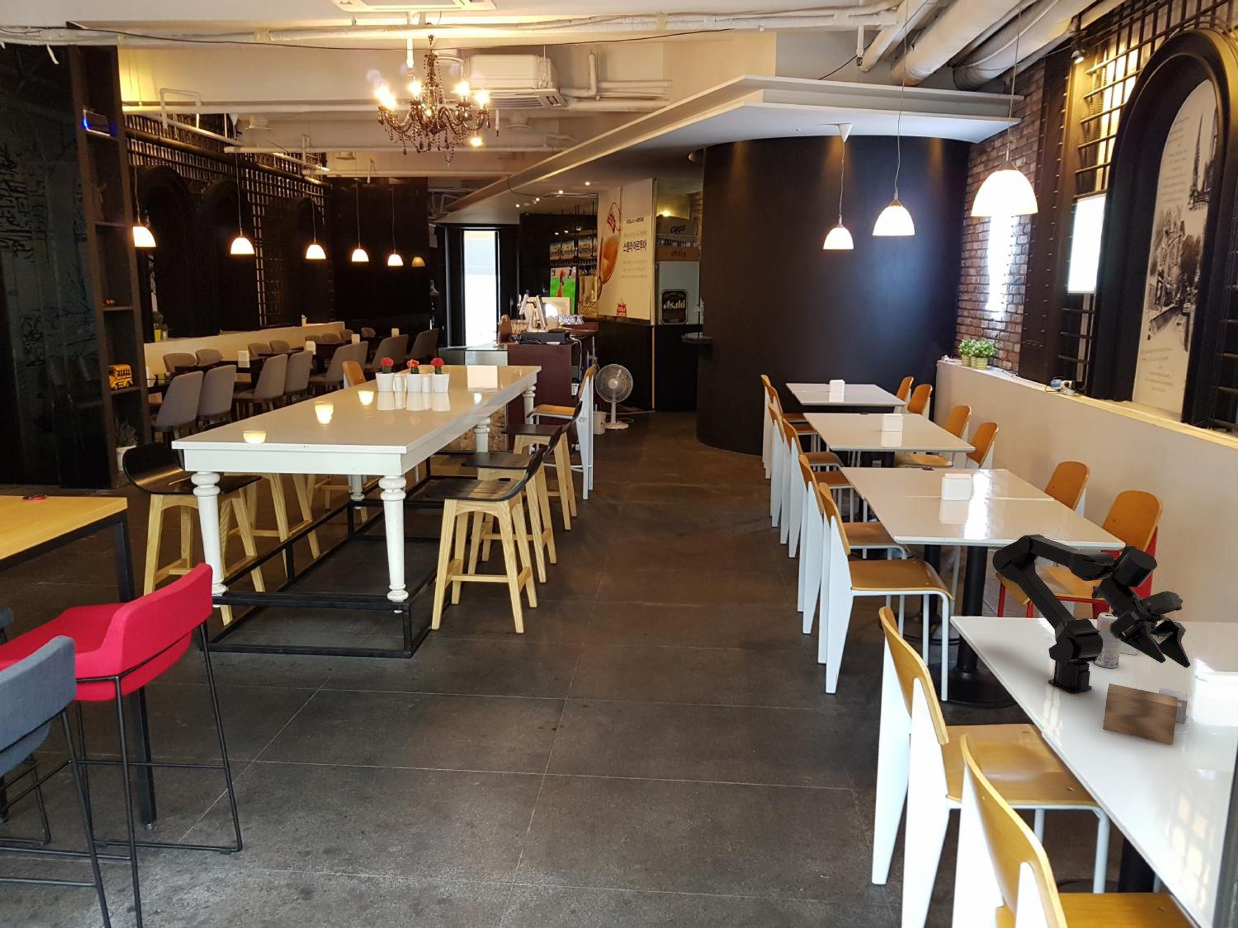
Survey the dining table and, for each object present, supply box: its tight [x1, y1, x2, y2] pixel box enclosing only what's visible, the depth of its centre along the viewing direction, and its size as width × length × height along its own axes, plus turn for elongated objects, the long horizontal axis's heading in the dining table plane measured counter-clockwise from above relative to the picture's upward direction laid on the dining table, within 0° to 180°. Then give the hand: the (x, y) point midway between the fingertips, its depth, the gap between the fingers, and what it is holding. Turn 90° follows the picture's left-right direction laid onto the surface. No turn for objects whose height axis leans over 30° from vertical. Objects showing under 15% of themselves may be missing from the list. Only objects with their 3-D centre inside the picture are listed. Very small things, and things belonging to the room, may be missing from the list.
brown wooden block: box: [1102, 682, 1178, 746], centre depth 180 cm, size 12×5×8 cm, turn 58°
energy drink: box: [1093, 612, 1121, 669], centre depth 214 cm, size 5×5×12 cm
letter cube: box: [1158, 686, 1189, 724], centre depth 188 cm, size 5×5×5 cm
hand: (1176, 664), depth 176 cm, fingers open, 9 cm apart
